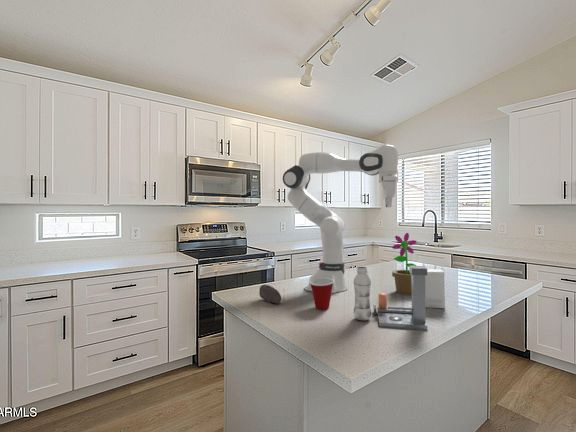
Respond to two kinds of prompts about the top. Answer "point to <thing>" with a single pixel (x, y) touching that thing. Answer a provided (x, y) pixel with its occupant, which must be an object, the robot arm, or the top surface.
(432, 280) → the skincare box
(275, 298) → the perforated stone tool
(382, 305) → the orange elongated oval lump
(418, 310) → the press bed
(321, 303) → the plastic cup
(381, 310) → the rail
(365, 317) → the plastic bottle
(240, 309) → the top surface
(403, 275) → the flowerpot
